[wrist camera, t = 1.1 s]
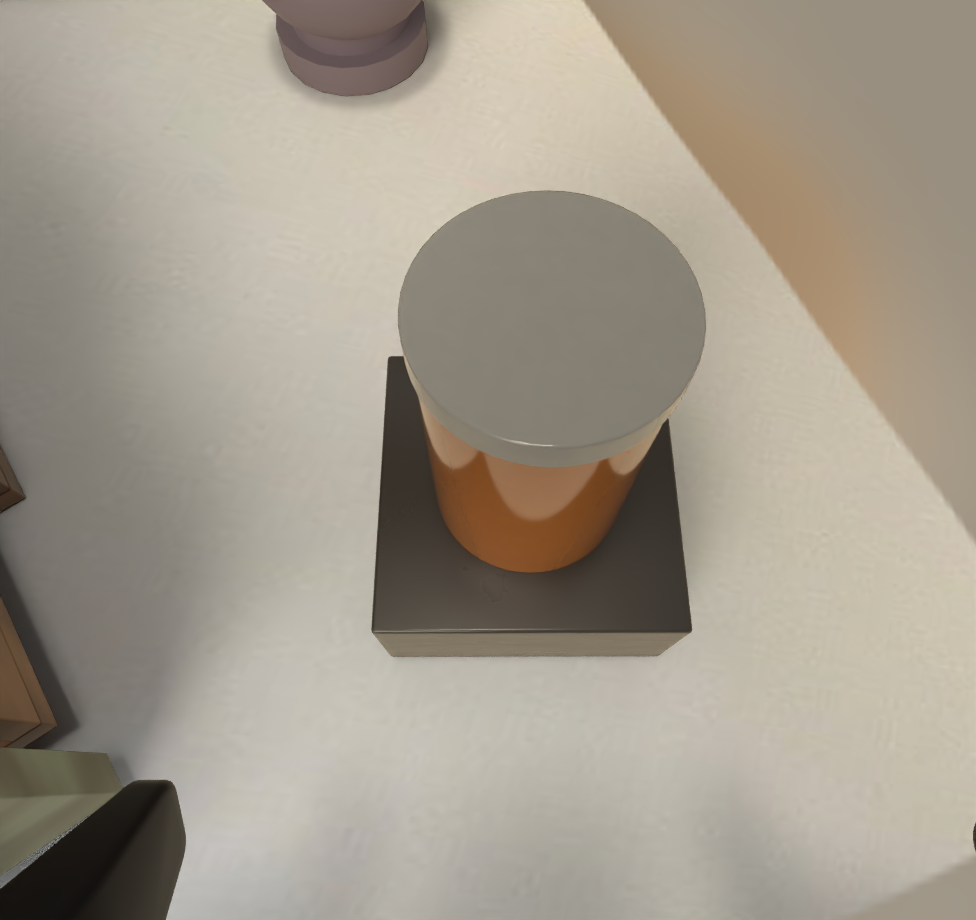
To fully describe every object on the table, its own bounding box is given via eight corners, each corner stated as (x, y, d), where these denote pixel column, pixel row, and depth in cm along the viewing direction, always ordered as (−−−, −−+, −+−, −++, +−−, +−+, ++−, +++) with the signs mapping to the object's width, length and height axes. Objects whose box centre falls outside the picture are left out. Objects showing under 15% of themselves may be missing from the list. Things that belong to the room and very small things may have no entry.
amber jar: (642, 564, 19) (741, 428, 11) (441, 589, 18) (410, 466, 11) (605, 388, 21) (668, 176, 13) (423, 408, 21) (386, 204, 13)
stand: (659, 656, 22) (693, 632, 18) (390, 657, 22) (370, 633, 18) (636, 416, 25) (662, 354, 21) (402, 417, 25) (387, 354, 21)
